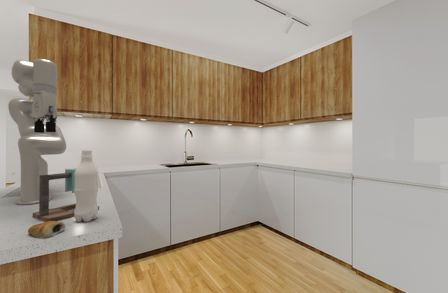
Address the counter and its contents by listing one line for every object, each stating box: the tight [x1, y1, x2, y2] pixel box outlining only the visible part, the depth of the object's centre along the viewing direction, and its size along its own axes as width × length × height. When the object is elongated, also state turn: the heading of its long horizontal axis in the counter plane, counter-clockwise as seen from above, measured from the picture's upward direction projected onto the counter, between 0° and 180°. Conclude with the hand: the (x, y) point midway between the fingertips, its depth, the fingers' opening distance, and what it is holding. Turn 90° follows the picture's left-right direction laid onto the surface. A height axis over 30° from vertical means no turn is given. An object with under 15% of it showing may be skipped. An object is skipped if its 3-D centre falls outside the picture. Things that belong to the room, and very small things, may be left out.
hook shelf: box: [31, 172, 100, 222], centre depth 82 cm, size 13×17×16 cm
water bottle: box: [73, 150, 99, 223], centre depth 75 cm, size 7×7×25 cm
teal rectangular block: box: [64, 167, 77, 194], centre depth 84 cm, size 6×5×9 cm
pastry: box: [27, 220, 66, 239], centre depth 63 cm, size 9×7×4 cm
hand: (44, 132), depth 86 cm, fingers open, 9 cm apart
